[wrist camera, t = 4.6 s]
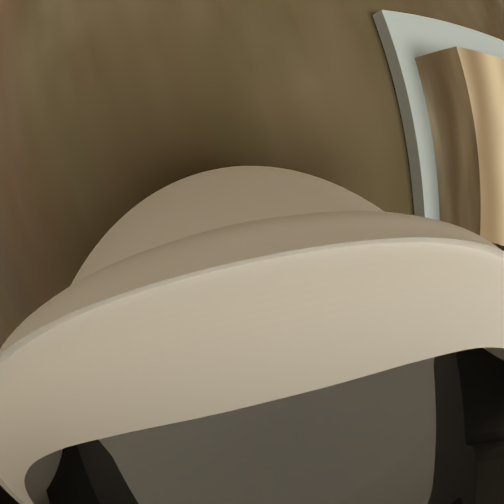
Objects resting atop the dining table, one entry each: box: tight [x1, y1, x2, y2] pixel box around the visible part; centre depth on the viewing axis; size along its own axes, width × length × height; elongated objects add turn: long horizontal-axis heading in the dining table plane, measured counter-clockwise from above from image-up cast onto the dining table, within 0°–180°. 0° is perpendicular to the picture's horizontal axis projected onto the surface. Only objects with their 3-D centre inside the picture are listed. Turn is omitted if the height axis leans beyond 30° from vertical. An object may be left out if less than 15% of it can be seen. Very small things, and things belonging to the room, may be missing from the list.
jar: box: [0, 166, 504, 504], centre depth 10 cm, size 11×10×15 cm
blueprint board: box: [372, 10, 504, 221], centre depth 17 cm, size 18×22×1 cm
